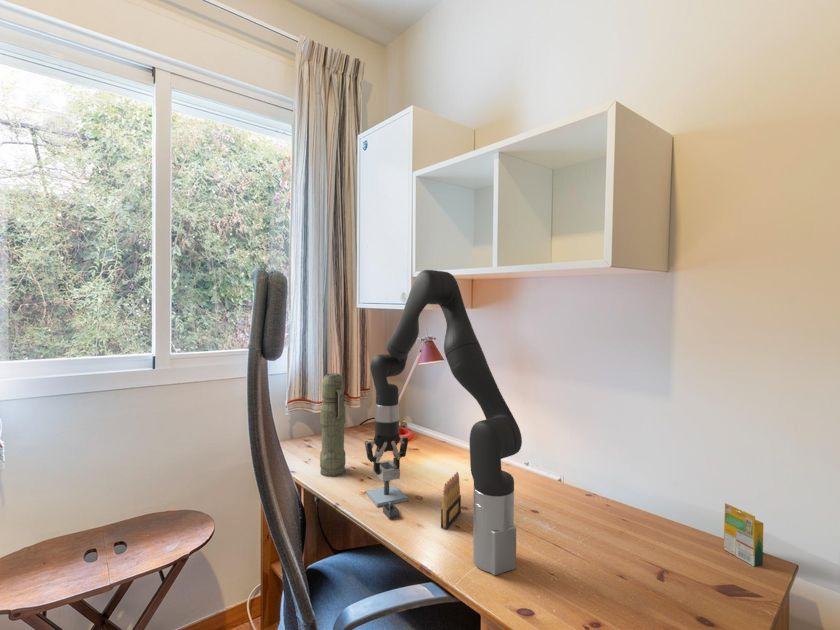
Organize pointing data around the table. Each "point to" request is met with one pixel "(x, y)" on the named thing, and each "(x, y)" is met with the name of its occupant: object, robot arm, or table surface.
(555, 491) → the table surface
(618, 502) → the table surface
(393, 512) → the anchor cleat
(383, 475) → the steel link
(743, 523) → the crayon box
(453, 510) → the ammunition clip
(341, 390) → the thermos
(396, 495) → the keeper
